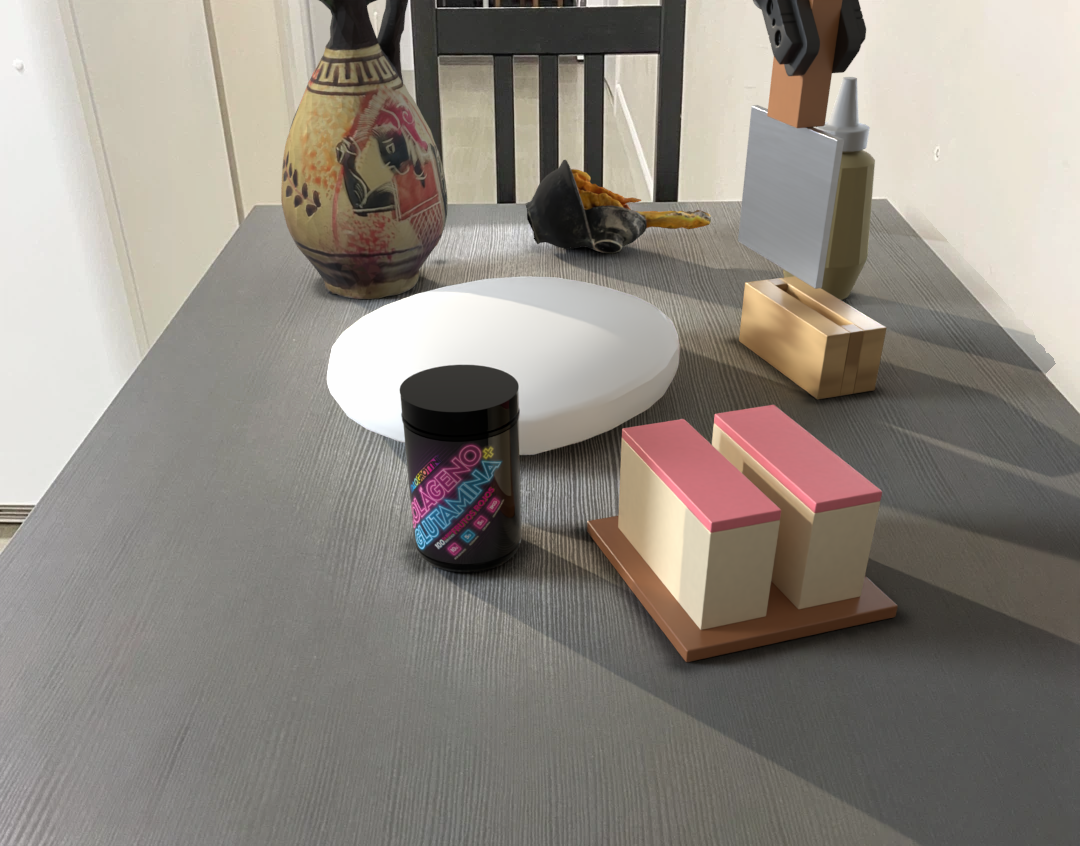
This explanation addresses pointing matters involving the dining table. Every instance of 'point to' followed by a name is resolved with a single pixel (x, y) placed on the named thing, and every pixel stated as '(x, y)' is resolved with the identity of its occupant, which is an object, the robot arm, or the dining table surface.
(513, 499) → the supplement container
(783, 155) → the knife
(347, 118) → the ceramic jug
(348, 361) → the white round flat disc
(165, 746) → the dining table surface
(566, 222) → the fried shrimp in bowl
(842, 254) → the squeeze bottle
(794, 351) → the knife block
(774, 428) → the cake
